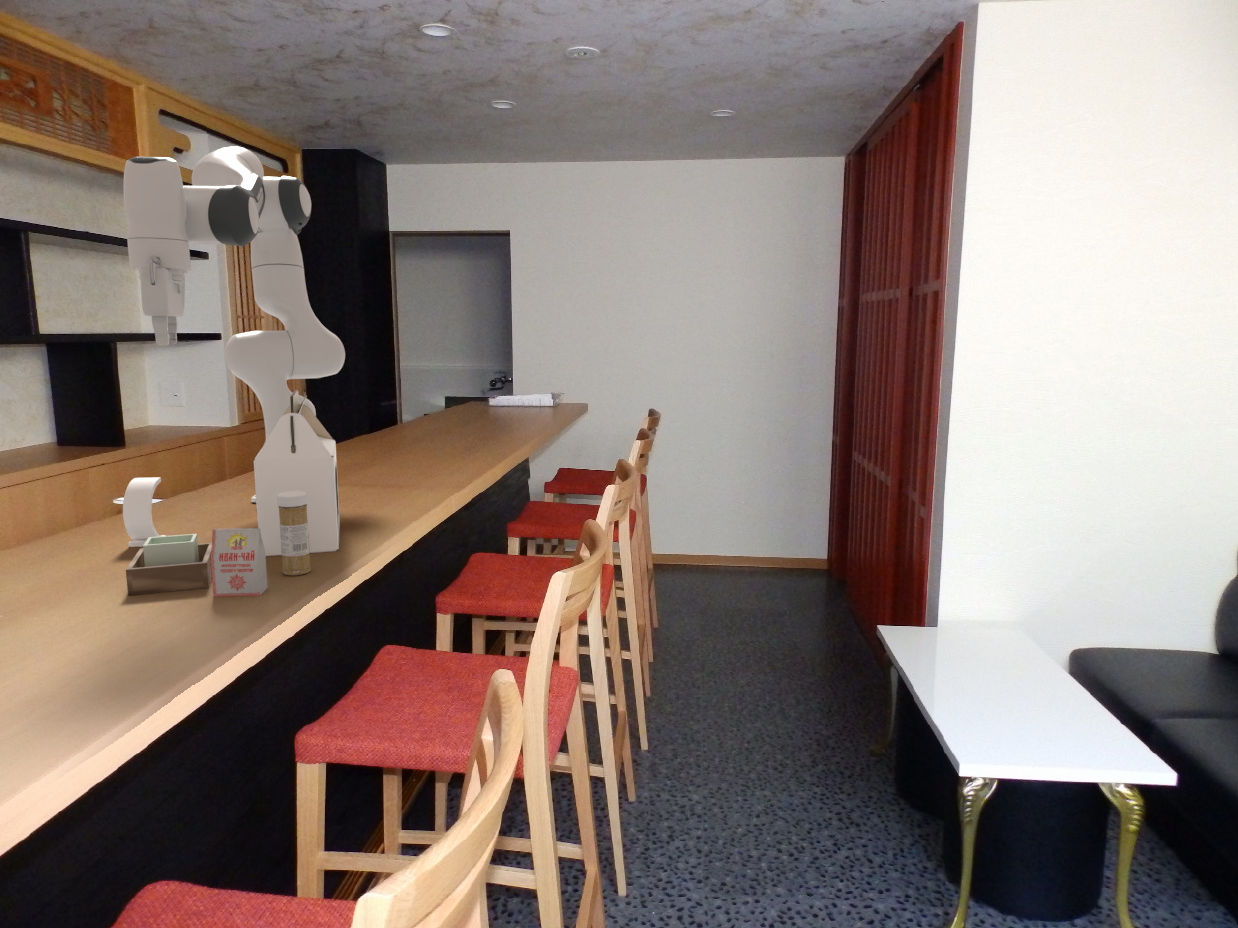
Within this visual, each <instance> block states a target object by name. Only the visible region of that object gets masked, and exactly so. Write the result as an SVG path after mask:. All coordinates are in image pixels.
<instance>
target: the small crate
mask: <svg viewBox="0 0 1238 928" xmlns="http://www.w3.org/2000/svg"><path fill="white" fill-rule="evenodd" d="M198 541H199V540H198V534H197V533H190V534H187V533H186V534H176V535H175V534H174V535H166V536H160V537H149V538H148V539H147V540H146V542H145V543H144V545H143V547H142V548H143V551H144V562H145V567H151V566H163V565H174V564H186V563H197V562H199V552H198V544H199V542H198Z"/></svg>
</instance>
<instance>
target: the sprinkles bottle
mask: <svg viewBox="0 0 1238 928" xmlns="http://www.w3.org/2000/svg"><path fill="white" fill-rule="evenodd" d="M277 505H278V508H279V517H280V538H281V554H282V555H281V561H282V563H281V564H282V570H281V572H282V574H283V575H286V576H302V575H305V574H308V573H310V572H311V571H312V567H311V556H310V554H311V553H309V550H310V548H309V533H308V521H307V508H306V507H307V493H306V492H303V491H288V492H282V493H279V494H278V495H277Z"/></svg>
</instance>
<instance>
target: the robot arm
mask: <svg viewBox="0 0 1238 928" xmlns="http://www.w3.org/2000/svg"><path fill="white" fill-rule="evenodd" d="M122 187H123V205H124V206H123V207H124V208H123V209H124V212H125V216H126V218H127V223H128V230H127V231H128V232H127V236H126V240H127V253H128V260H129V261H128V262H129V264H128V265H129V269H130V270H136V271H138V274H139V276H138V277H139V280H140V294H141V307H142V313H143V315H144V316H146V317H151V322H152V324H151V325H152V329H153V331H154V336H155V344H156V345H157V346H168V345H175V344H177V343H178V336H177V333H178V317H179V318H182V317H183V316H184V313H185V311H184V310H185V293H186V292H185V290H186V289H185V288H186V287H185V286H186V281H185V279H186V278H185V274H188V273H189V272H190V271H191V270H192V267H191V265H192V264H191V253H190V244H191V245H225V246H236V247H246V246H247V245H249V243H250V265H251V266H250V267H251V275H252V276H251V277H252V286H253V287H252V288H253V295H254V301H255V303H256V305H257V307H259V308H260V310H261V311H262V312H264V313H266V314H268V315H270V316H271V317H272V316H273V317H275V318H277V319H278V320H279V321H280V322H281V324H283V326H284V330H252V331H245V332H241V333H236V334H233V335H232V336H231V337H230V338H229V339H228V340H227V343H226V345H225V348H224V354H223V355H224V361H225V363H226V366H227V368H228V370H230V372H231V374H233V375H234V376H235V377H236V378H238V379H240V380H241V381H242V382H244V384H246V385H248V387H249V388H250V389H251V390H252V391H253V393H254V394H255V396H256V398H257V399H258V401H259V403H260V406H261V409H262V410H261V411H262V414H263V415H262V416H263V422H264V423H263V424H264V430H265V440H264V442H263V445H264V444H265V442H266V441H267V439H268V437H269V436H270V434H271V432H272V431H273V429H274V427H275V426H276V424H277V422H278V421H279V419H280V418H281V417H282V416H283V414H284V413H285V411H286V409H287V408H288V407H289V406H291V404H290V396H291V395H292V394H293V392H294V391H293V392H292V391H291V390H290V389H289V386H288V383H287V382H288V380H303V379H305V380H307V379H321V378H324V377H329V376H333V375H336V374H338V373H339V372H340V371H341V369H342V368H343V367H344V364H345V360H346V350H345V347H344V344H343V342H342V341H341V339H340V338H339V337H338V336H337V335H336V334H335V333H333V332H332V331H330V330H329V329H328V328H327V327H325V326H324V325H323V324H322V323H321V321H320V320H319V318H318V317H317V316H316V315H315V313H314V311H313V309H312V307H311V303H310V300H309V296H308V290H307V284H306V277H305V267H304V260H303V254H302V250H301V246H300V245H301V244H300V241H299V238H298V235H299V234H301V231H302V228H304V227H305V226H306V225H307V224H308V222H309V220H310V218H311V215H312V200H311V195H310V193H309V191H308V189H307V186H306V184H305V183H304V182H303V181H302V180H301V179H300V178H298V177H293V176H289V175H288V176H287V175H282V176H281V177H278V176H265V172H264V166H263V163H262V162H261V160H260V158H258V156H257V155H256V154H255V153H253V152H252V151H251V150H250V149H246V148H245V147H241V146H226V147H221V148H218V149H216V150H215V149H214V150H213V151H211V152H209V153H207V154H206V155H204V156H203V157H202V158H200V159H198V161H197V162H196V164H195V165H194V167H193V169H192V173H191V185H184V183H183V176H182V173H181V168H180V165H179V163H178V161H177V160H175V159H174V158H171V157H165V156H163V157H162V156H133V157H130V158H128V159H127V160H126V161H125V164H124V169H123V186H122ZM298 396H299V404H301V403H302V401H303V400H304V398H305V396H302V395H300V394H298ZM303 405H306V406H307V407H309V408H310V410H311V411H312V412H313V414H314V415H315V416H316V417H317V413H316V408H315V405H314V404H313V403H312V401H311V400H310V399H308V398H306V399H305V402H304V404H303ZM300 415H301V411H300ZM250 500H251V501H250V502H251V503H256V494H254V495H253V496H251V499H250Z"/></svg>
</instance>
